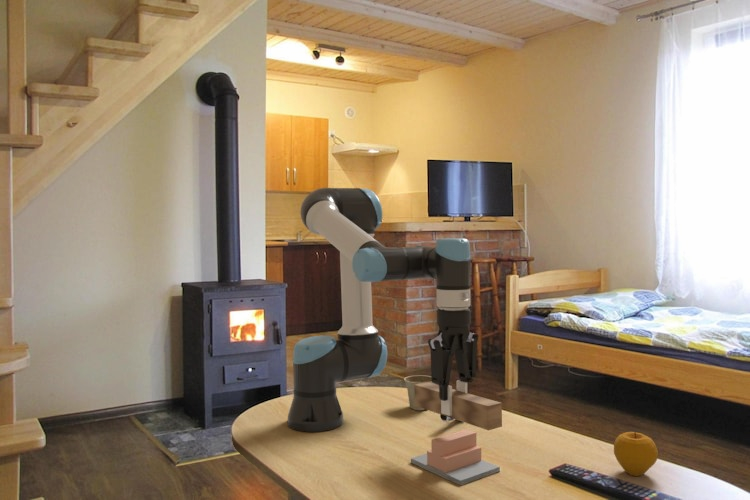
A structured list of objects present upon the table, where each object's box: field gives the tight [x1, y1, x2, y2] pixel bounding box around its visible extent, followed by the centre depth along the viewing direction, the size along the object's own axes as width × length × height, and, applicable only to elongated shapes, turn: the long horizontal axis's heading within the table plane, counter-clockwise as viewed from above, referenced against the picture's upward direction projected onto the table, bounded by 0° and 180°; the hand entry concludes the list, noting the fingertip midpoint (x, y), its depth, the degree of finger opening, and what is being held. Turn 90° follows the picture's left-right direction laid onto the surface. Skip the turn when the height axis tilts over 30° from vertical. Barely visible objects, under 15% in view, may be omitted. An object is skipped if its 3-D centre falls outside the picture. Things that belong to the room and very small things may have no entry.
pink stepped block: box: [410, 429, 501, 486], centre depth 141 cm, size 16×12×7 cm
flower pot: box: [403, 374, 435, 411], centre depth 186 cm, size 9×9×9 cm
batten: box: [414, 382, 503, 431], centre depth 140 cm, size 24×4×5 cm, turn 35°
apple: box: [613, 431, 659, 477], centre depth 136 cm, size 9×9×9 cm
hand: (454, 412), depth 140 cm, fingers closed on batten, 4 cm apart
